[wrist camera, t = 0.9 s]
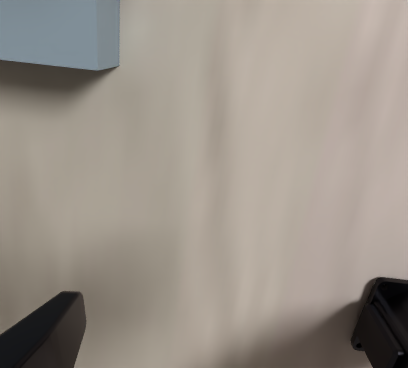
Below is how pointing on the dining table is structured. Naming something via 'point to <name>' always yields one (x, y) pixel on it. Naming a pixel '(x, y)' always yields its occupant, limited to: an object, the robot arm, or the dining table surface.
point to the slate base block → (61, 32)
